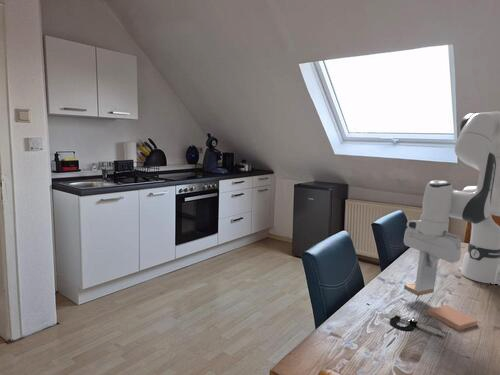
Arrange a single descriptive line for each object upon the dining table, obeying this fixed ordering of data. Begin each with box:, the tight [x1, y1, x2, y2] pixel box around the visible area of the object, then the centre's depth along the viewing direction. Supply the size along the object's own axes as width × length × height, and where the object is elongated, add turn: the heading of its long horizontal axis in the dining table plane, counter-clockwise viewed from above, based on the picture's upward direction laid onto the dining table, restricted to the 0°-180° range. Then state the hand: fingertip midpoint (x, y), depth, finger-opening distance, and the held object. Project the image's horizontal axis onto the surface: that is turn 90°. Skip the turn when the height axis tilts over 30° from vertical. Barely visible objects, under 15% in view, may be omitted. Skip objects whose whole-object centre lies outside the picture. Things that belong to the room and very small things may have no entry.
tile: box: [427, 304, 478, 331], centre depth 121 cm, size 9×2×11 cm
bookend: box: [403, 251, 439, 297], centre depth 132 cm, size 8×6×16 cm
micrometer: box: [389, 314, 445, 338], centre depth 113 cm, size 15×7×2 cm, turn 47°
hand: (427, 265), depth 129 cm, fingers closed on bookend
